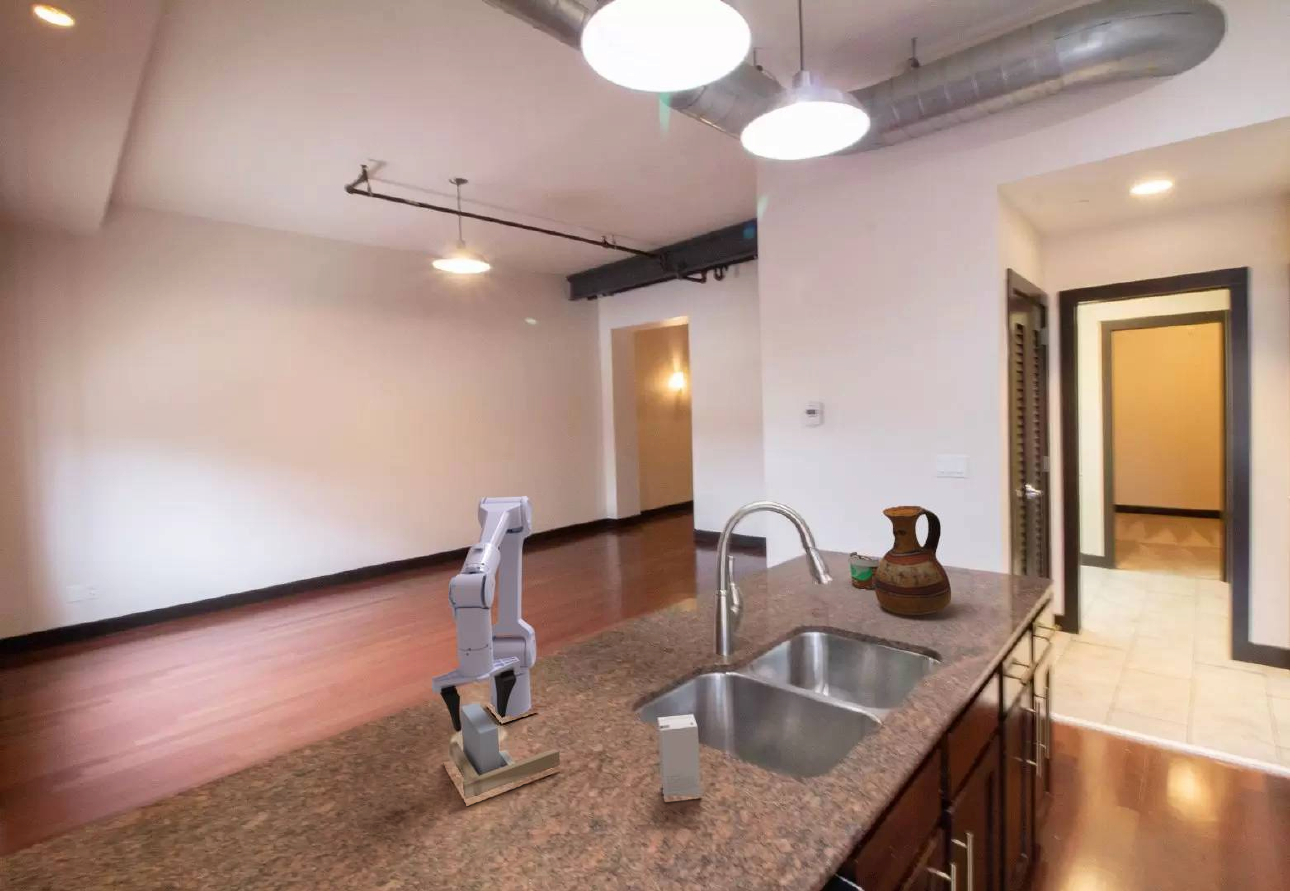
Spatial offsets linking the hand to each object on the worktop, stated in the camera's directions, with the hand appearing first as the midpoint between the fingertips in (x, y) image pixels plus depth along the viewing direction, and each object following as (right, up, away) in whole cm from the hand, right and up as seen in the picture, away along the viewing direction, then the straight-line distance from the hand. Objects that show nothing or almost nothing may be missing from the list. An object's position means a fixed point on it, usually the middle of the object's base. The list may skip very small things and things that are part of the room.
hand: (479, 721), depth 106 cm
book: (0, -8, +1) cm, 8 cm away
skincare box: (+34, -9, -7) cm, 36 cm away
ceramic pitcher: (+105, 0, +73) cm, 127 cm away
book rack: (+3, -9, +2) cm, 10 cm away
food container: (+97, +1, +95) cm, 136 cm away
